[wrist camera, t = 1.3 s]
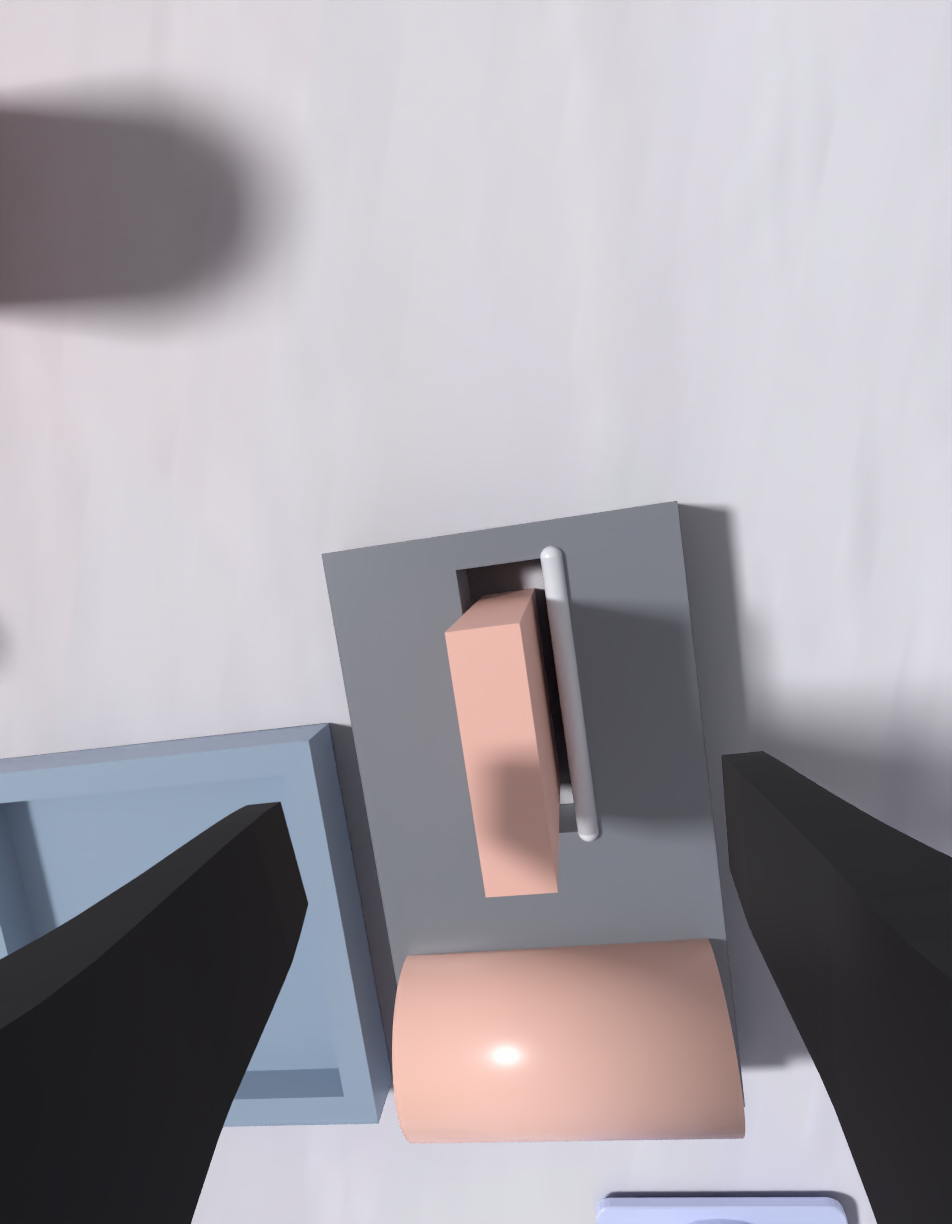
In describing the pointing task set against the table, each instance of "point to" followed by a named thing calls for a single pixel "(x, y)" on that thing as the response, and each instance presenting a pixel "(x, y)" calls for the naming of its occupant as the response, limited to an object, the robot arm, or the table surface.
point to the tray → (166, 820)
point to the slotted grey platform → (588, 848)
